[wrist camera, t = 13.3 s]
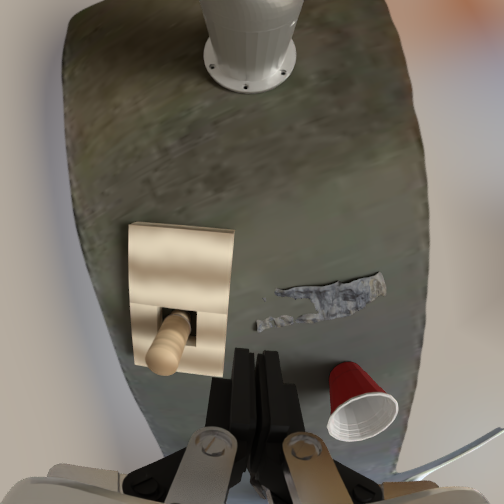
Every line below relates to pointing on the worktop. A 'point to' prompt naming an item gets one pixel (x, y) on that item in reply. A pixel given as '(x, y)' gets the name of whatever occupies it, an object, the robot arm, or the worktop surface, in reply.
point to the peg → (169, 343)
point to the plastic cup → (358, 404)
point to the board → (181, 288)
